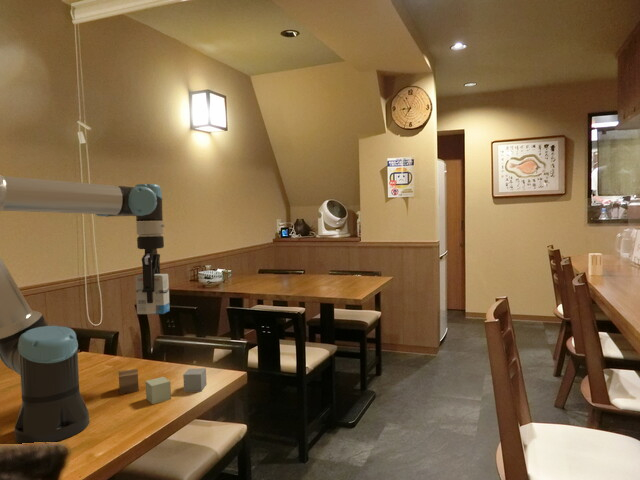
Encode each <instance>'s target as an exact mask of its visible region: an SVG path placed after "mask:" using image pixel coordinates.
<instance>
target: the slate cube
mask: <svg viewBox="0 0 640 480" xmlns="http://www.w3.org/2000/svg"><path fill="white" fill-rule="evenodd" d="M206 386H207V368H206V367H205V368H204V367H203V368H200V367H199V368H188V369H187V370H186V371H185V372H184V373H183V392H187V393H188V392H189V393H190V392H192V393H194V392H203V390H204V389H205V387H206Z"/></svg>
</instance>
